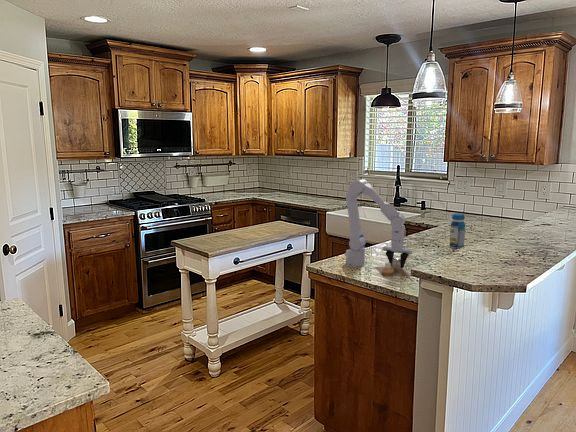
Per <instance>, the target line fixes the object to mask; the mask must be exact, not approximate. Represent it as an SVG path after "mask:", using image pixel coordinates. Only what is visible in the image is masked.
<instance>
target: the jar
mask: <svg viewBox="0 0 576 432" xmlns="http://www.w3.org/2000/svg"><path fill="white" fill-rule="evenodd" d="M384 266H385V268H382V273H383V274H386V275H392V274H393V272H394V269H393V268H391V263H389V262H385V263H384Z"/></svg>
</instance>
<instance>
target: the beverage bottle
mask: <svg viewBox="0 0 576 432" xmlns="http://www.w3.org/2000/svg"><path fill="white" fill-rule="evenodd" d="M465 215H466V214H464V213H459V212H457V213H452V214H451V220H452V221H451V223H450V225H449V226H450V229H449V232H450V234H449V235H450V236H449V237H450V238H449V248H451V249H454V248H462V247H464V248H465V237H466V235H465V234H466V224H465V217H466V216H465Z"/></svg>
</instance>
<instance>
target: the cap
mask: <svg viewBox="0 0 576 432" xmlns="http://www.w3.org/2000/svg"><path fill="white" fill-rule="evenodd" d="M391 268H393V269H394V270H401V269H402V268H401V257H393V258H392V260H391Z"/></svg>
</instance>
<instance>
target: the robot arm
mask: <svg viewBox="0 0 576 432" xmlns="http://www.w3.org/2000/svg"><path fill="white" fill-rule="evenodd" d="M361 195H364V196H368V197H370V198H371V199H372V201H374V202H375V203H376V204H377V206H379V209H380V212H381V213H382V214H383V215H384V216H385V218H387V220H388V221H390V225H391V241H390V242H391V246H387V245H385V246H382V252H385V256H386V258H387V259H388V263H391V260H392V258H394V256H395V253H400V255H399V256H400V257H399V258H401V268H403V269H405V264H406V261H407V259H408V257H409V255H413V249H409V248H405V247H404V243H405V242H404V241H405V230H404V228H405V226H404V224H405V223H406V218H405V216H404V215H403V214H401V212H400V211H398V210H396V208H394V204H393V203H390V202H386V201H385V200H384V199H383V197H382V196H381V195H380V194H379V193H378V192H377V191H376V189H375V188H374V187H373V186H372V184H370V183H369V182H368V181H367V180H366V179H363V178H359V179H358V180H354V181H353V182H352V183H351V184H350V185H349V186H348V191H347V192H346V195H345V201H346V207H347V215H348V221H349V226H350V227H349V228H350V234H349V242H348V246H349V248H350V249H346V250H345V265H346V266H347V267H362V266H365V264H366V250H365V249H366V248H365V245H366V244H367V238H366V237H365V234H364V232H363V230H362V227H361V226H362V225H361V220H360V213H359V207H358V206H359V205H358V198H359V197H360V196H361Z"/></svg>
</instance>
